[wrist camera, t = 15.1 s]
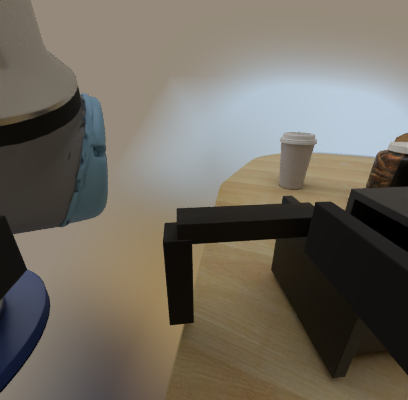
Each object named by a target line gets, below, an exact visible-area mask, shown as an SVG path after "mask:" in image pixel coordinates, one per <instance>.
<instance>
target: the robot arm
mask: <svg viewBox="0 0 408 400" xmlns="http://www.w3.org/2000/svg"><path fill="white" fill-rule="evenodd" d="M105 151H106V145H105V128H104V120H103V113H102V108H101V105H100V102H99V101H98V99H96V98H95V97H91V96H89V95H87V94H81V95H80V93H79V88H78V84H77V80H76V76H75V75H74V73H73V71H72V70H71V69H70V68H69V67H67V66H66V65H65V64H64V63H63V62H61V61H60V60H59V59H58V58H57V57H55V56H54V55H53V54H52V53H50V52H49V51H48V50H47V49H46V48H45V46H44V45H43V41H42V38H41V34H40V32H39V28H38V24H37V21H36V17H35V14H34V11H33V7H32V4H31V1H30V0H0V322H1V320H2V318H3V315H4V312H5V308H6V300H5V297H4V296H5V295H6V293H7V292H8V291H9V290H10V289H11V288H12V287H13V285H14V284H15V283H16V282H17V281H18V280H19V279H20V277H21V276H22V275H23V274H24V273H25V272H26V271H27V268H26V266H25V263H24V261H23V258H22V256H21V253H20V251H19V248H18V246H17V244H16V241H15V239H14V236H13V234H17V233H23V232H29V231H36V230H41V229H48V228H54V227H64V226H66V225H68V224H69V223H73V222H78V221H82V220H87V219H91V218H94V217H96V216H98V215H99V214H100V213H101V212H102V211H103V210H104V208H105V206H106V203H107V195H108V173H107V172H108V170H107V157H106V154H105ZM304 252H305V253H306V254H307V255H308V257H309V258H310V259H311V260H312V261H313V263H314V264H315V265H316V266H317V267H318V269H319V270H320V271H321V272H322V273H323V275H324V276H325V277H326V278H327V279H328V281H329V282H330V283H331V284H332V285H333V286H334V288H335V289H336V290H337V291H338V292H339V294H340V295H341V296H342V297H343V298H344V300H345V301H346V302H347V303H348V304H349V306H350V307H351V308H352V309H353V310H354V312H355V313H356V314H357V315H358V316H359V317H360V319H361V320H362V321H363V322H364V323H365V325H366V326H367V327H368V328H369V329H370V331H371V332H372V333H373V334H374V335H375V337H376V338H377V339H378V340H379V341H380V343H381V344H382V345H383V346H384V347H385V349H386V350H387V351H388V352H389V353H390V354H391V356H392V357H393V358H394V359H395V360H396V362H397V363H398V364H399V365H400V366H401V368H402V369H403V370H404V371H405V372H406V374H407V375H408V252H406V251H405V250H403V249H402V248H400V247H399V246H397V245H396V244H394V243H393V242H391V241H390V240H388V239H387V238H385V237H384V236H382V235H381V234H379V233H378V232H376V231H375V230H373V229H372V228H370V227H369V226H367V225H366V224H364V223H363V222H361V221H359V220H358V219H356V218H355V217H353V216H352V215H350V214H349V213H347V212H346V211H344V210H343V209H341V208H340V207H338V206H337V205H335V204H334V203H332V202H315V207H314V211H313V215H312V219H311V224H310V228H309V232H308V236H307V241H306V245H305V249H304Z"/></svg>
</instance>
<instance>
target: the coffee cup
mask: <svg viewBox="0 0 408 400" xmlns="http://www.w3.org/2000/svg"><path fill="white" fill-rule="evenodd" d="M280 142H281V160H280V178H279V185H280V186H281V187H283V188H286V189H300V188H302V185H303V182H304V178H305V175H306V171H307V168H308V165H309V161H310V158H311V154H312V151H313V148H314V145H315V144H316V143H317V141H316V139H315V135H314V134H310V133H300V132H297V133H296V132H289V133H284V135H283V137H281V139H280Z"/></svg>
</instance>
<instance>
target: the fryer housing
mask: <svg viewBox="0 0 408 400" xmlns="http://www.w3.org/2000/svg"><path fill="white" fill-rule="evenodd" d="M345 211H346V212H347V213H349V214H350V215H352V216H353V217H355V218H356V219H358V220H359V221H361V222H363V223H367V222H384V221H397V222H399V223H401V224H402V225H404V226H406V227H408V187H387V188H362V189H351V192H350V196H349V199H348V203H347V206H346V210H345Z"/></svg>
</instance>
